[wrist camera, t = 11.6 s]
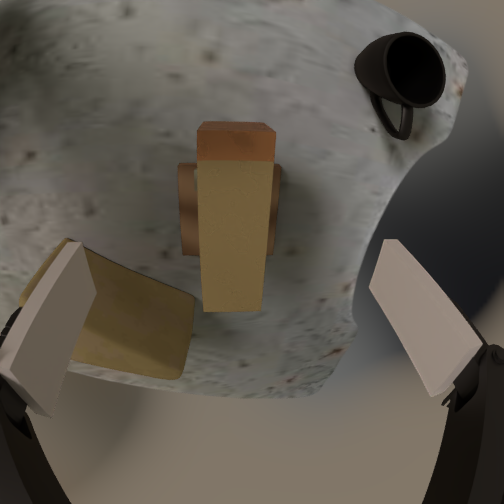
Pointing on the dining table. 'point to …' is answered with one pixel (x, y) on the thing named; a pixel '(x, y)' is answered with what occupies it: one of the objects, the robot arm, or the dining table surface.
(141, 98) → the dining table surface
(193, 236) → the wooden base plate
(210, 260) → the two-tone wooden block
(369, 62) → the mug
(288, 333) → the dining table surface
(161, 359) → the cheese
